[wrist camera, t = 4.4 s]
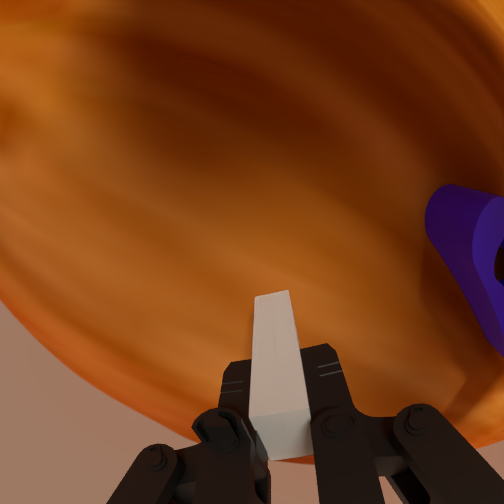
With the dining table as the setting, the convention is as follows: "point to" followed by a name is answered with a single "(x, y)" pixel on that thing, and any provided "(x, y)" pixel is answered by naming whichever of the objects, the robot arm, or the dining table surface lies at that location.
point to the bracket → (471, 250)
